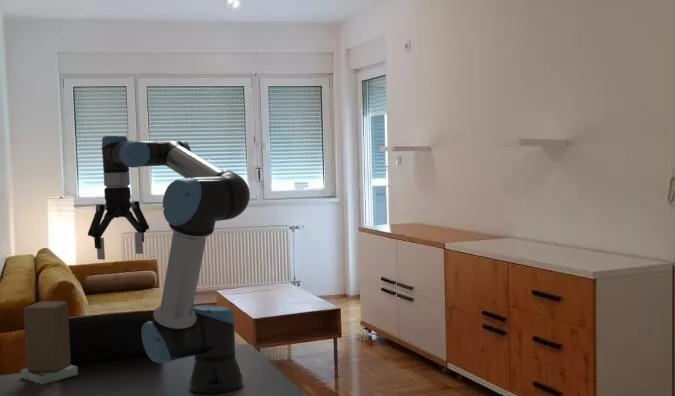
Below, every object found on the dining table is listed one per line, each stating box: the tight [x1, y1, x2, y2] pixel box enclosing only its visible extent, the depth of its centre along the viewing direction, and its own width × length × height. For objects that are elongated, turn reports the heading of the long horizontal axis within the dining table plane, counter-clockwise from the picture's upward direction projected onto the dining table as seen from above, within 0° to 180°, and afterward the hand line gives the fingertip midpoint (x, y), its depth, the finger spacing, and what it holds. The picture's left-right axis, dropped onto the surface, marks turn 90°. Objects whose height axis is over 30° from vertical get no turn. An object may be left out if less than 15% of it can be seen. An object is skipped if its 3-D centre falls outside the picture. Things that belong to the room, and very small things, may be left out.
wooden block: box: [23, 300, 71, 372], centre depth 235 cm, size 10×10×20 cm
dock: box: [20, 363, 79, 385], centre depth 236 cm, size 12×12×3 cm
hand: (120, 256), depth 232 cm, fingers open, 13 cm apart
